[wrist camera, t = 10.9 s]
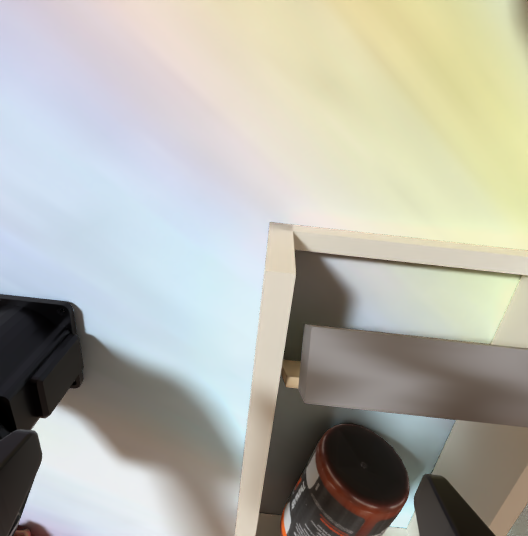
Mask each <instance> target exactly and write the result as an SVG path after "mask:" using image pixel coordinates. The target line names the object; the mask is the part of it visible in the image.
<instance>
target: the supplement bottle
mask: <svg viewBox="0 0 528 536" xmlns="http://www.w3.org/2000/svg"><path fill="white" fill-rule="evenodd" d="M408 495H409V478H408V474H407V471H406V468H405V466H404V464H403V463H402V460H401V459H400V457H399V456H398V454H397V453H396V451H395V450H394V449H393V447H391V446H390V445H389V444H388V442H386V441H385V440H384V439H383V438H381V437H380V436H378V435H377V434H375V433H374V432H372V431H370V430H368V429H366V428H364V427H361V426H358V425H354V424H353V425H352V424H340V425H335V426H333V427H332V428H330V429H328V430H327V431H326V432H325V433H324V435H323V436H322V438H321V439H320V440H319V442H318V443H317V446H316V448H315V449H314V451H313V453H312V455H311V457H310V459H309V461H308V463H307V465H306V467H305V469H304V471H303V472H302V474H301V476H300V478H299V480H298V482H297V484H296V485H295V488H294V489H293V491H292V493H291V495H290V497H289V499H288V501H287V503H286V505H285V507H284V509H283V513H282V516H281V521H280V532H281V536H382V535H383V534H384V532H385V531H386V530H387V528H388V527H389V526H390V524H391V523H392V522H393V521H394V519H395V518H396V517H397V515H398V514H399V512H400V511H401V510H402V508H403V506H404V504H405V503H406V501H407V498H408Z"/></svg>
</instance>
